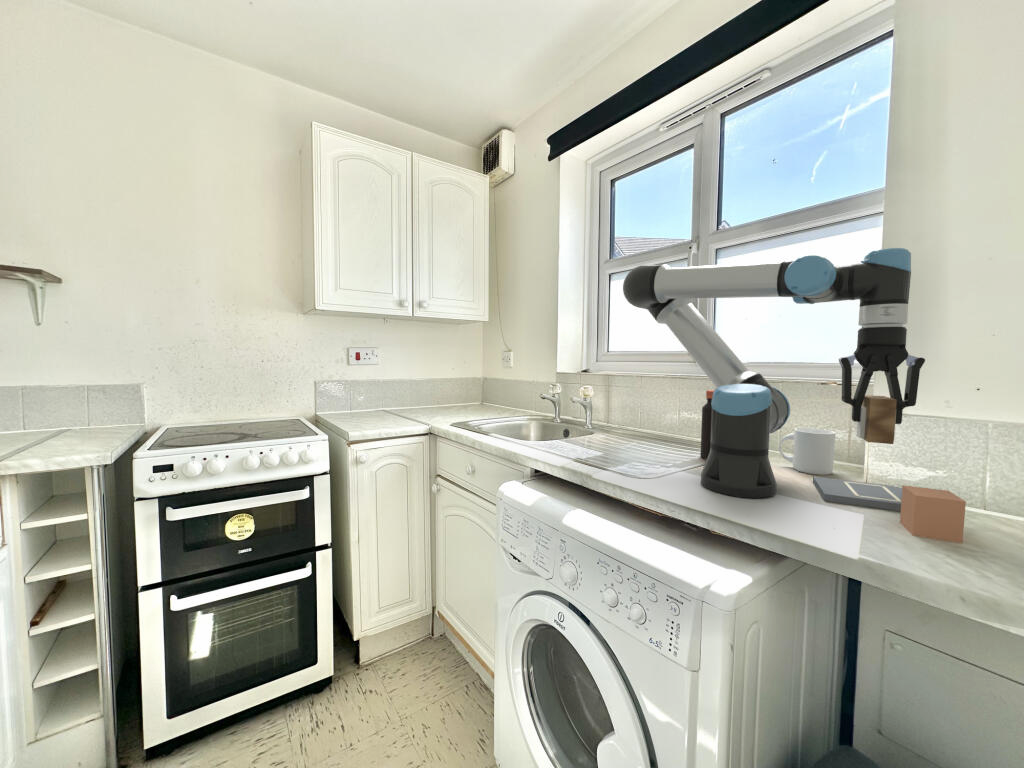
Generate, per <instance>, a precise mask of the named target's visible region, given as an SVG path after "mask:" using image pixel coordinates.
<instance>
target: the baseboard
mask: <svg viewBox="0 0 1024 768" xmlns="http://www.w3.org/2000/svg"><path fill="white" fill-rule="evenodd" d="M812 483H813V485H814V487H815V488H816V490H817V492H818V493H819V495H820V496H821V498H822V500H823V501H824V502H830V503H837V504H844V505H850V506H851V505H852V506H858V507H866V508H872V509H880V510H887V511H894V512H900V513H901V500H902V488H899V487H900V486H899V487H894V486H895V485H890V484H888V485H887V484H881V483H880V484H879V483H871V482H863V481H854V480H847V479H838V478H837V479H836V478H830V477H829V478H828V477H821V476H813V477H812ZM889 485H890V486H889Z"/></svg>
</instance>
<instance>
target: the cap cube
mask: <svg viewBox="0 0 1024 768" xmlns="http://www.w3.org/2000/svg"><path fill="white" fill-rule="evenodd" d="M901 487H902V500H901V512H900V518H899V523H900V524H901V525H902V526H903V528H904V529H905V530H906V531H908V532H909V534H911V536H914V537H920V538H925V539H933V540H939V541H946V542H952V543H953V542H954V543H958V544H959V543H960V544H963V539H964V528H965V527H964V526H965V515H966V506H967V505H966V503H967V501H966V500H964V499H962V498H961V497H960V496H959V495H957V494H955V493H953V492H951V491H950V490H948V489H947V490H945V489H938V488H930V487H928V488H927V487H922V486H921V487H920V486H912V485H911V486H910V485H905V484H904V485H902V486H901Z"/></svg>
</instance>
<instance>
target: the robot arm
mask: <svg viewBox="0 0 1024 768" xmlns="http://www.w3.org/2000/svg"><path fill="white" fill-rule="evenodd" d="M911 277H912V253H911V251H910V250H909V249H906V248H901V247H891V248H889V247H888V248H881V249H878V250H877V249H876V250H871V251H868V252H866V253H864V254H863V256H862V259H861V261H860V262H859V263H855V264H849V265H841V266H839V265H838V266H835V265H834V264H833V263H832V262H831V260H829V259H828V258H827V257H822V256H820V255H813V254H810V255H809V254H808V255H803V256H800V257H798V258H797V259H789V260H773V261H772V260H771V261H757V262H744V263H743V262H741V263H730V264H729V263H727V264H714V265H713V264H712V265H699V266H685V267H684V266H683V267H670V266H669V265H668V264H643V265H639V266H636V267H634V268H633V269H631V270H630V271H629V272H628V274H627V275H626V276H625V278H624V280H623V284H622V291H623V296H624V298H625V299H626V301H627V302H628V303H629V304H630V305H632V306H634V307H636V308H638V309H639V308H640V309H645V310H647V311H648V312H649V313H650V315H651V316H652V317H653V319H654V320H655V321H656V322H657V323H658V324H663V325H666V326H667V327H668V328H669V330H670V331H671V332H672V333H673V335H674V336H675V338H677V339H678V341H679V343H680V344H681V345H682V346H683V347H684V348H685V350H686V351H687V353H689V355H690V356H691V357H692V359H693V360H694V361H695V362H696V363H697V365H698V367H699V368H700V369H701V370H702V371H703V373H704V374H705V375H706V377H708V379H709V380H710V382H711V383H712V384H713V385H714V386H715V387H716V388H714V389H713V390H714V392H713V398H712V401H711V406H712V413H711V445H710V453H709V456H708V458H707V459H705V464H704V465H703V468H702V471H701V473H700V485H702V486H703V487H704V488H705V489H708V490H710V491H713V492H716V493H719V494H723V495H727V496H733V497H737V498H738V497H739V498H749V499H765V498H766V499H767V498H770V497H774V496H775V495H776V494H777V481H776V477H775V473H774V472H773V469H772V465H771V461H770V459H769V451H770V450H769V449H770V434H772V433H776V431H778V430H780V429H781V428H782V427H784V425H785V424H786V423H787V422H788V419H789V417H790V414H791V405H790V402H789V399H788V398H787V396H786V395H785V394H784V393H783V392H782V391H781V390H779V389H778V388H777V387H773V386H771V384H770V383H769V382H768V381H767V380H766V379H765V378H764V376H763V375H762V374H761V373H760V372H756V371H755V372H754V371H750V370H749V369H748V368H747V367H746V366H745V364H744V363H743V362H742V360H740V359H739V357H738V356H737V355H736V354H735V353H734V352H733V350H732V349H731V348H730V347H729V346H728V344H727V343H726V342H725V341H724V340H723V338H721V336H720V334H719V333H718V332H716V330H715V329H714V328H713V327H712V326H711V324H710V323H709V322H708V321H707V320H706V318H705V317H704V316H703V315H702V314H701V313H700V312H699V311H698V309H697V307H695V306H694V304H693V301H694V299H724V298H725V299H728V298H729V299H733V298H741V299H742V298H792V301H793V302H794V303H795V304H800V305H801V304H809V305H813V304H819V303H831V302H842V301H856V300H859V311H858V326H860V327H861V328H859V329H858V331H857V344H856V349H855V351H853V354H851V355H848V356H842V357H840V358H838V363H839V365H840V366H841V401H842V402H843V403H845V404H848V405H850V406H851V420H852V421H853V422H857V424H856V437H858V438H859V439H862V438H864V436H865V421H866V407H863V406H862V403H863V400H864V397H865V395H866V394H867V391H868V389H869V385H870V382H871V380H872V376H873V375H874V372H883V373H884V375H885V378H886V383H887V388H888V393H889V398H893V399H896V400H897V402H896V416H895V425H901V424H902V421H903V411H904V409H906V408H908V407H914V406H916V404H917V398H918V389H919V380H920V373H921V369H922V367H923V365H924V364H925V362H926V359H925V358H924V357H917V356H914V355H911V354H909V352H908V350H907V348H906V346H907V331H908V329H907V328H906V327H905V326H904V325H906V324H907V323H908V315H909V314H908V313H909V300H910V287H911V279H912V278H911ZM855 360H856V362H857V363H858V364H860V366H861V367H862V369H861V372H860V377H859V380H858V383H857V386H856V389H855V391H854V396H853V398H852V394H853V393H852V387H853V386H852V385H853V384H852V383H853V379H852V378H853V369H852V366H854V364H855ZM904 361H905V363H906V366H907V369H906V378H905V387H904V396H902V391H901V386H900V385H901V384H900V381H899V377H898V376H899V372H898V367H900V365H901V364H902V363H903V362H904ZM895 432H896V429H895V430H894V437H896V436H895Z"/></svg>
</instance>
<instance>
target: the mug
mask: <svg viewBox="0 0 1024 768" xmlns="http://www.w3.org/2000/svg"><path fill="white" fill-rule="evenodd" d="M788 440H793V451H792V452H793V453H792V455H786V454H785V453H784V452H783V451H782V444H783V443H784V442H785V441H788ZM835 444H836V432H835V431H832V430H829V429H823V428H816V427H815V428H812V427H796V428H794V432H792V433H789V434H786V435H784V436H783V437H782V438H781V439H780V441H779V444H778V449H779V453H780V455H781V457H782V458H783V459H784V460H786V461H787V462H790V463H792V467H793V469H794V470H796V471H798V472H800V473H805V474H810V475H817V476H818V475H819V476H825V475H831V474H832V473H833V471H834V464H835V463H834V461H835V446H836V445H835Z"/></svg>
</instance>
